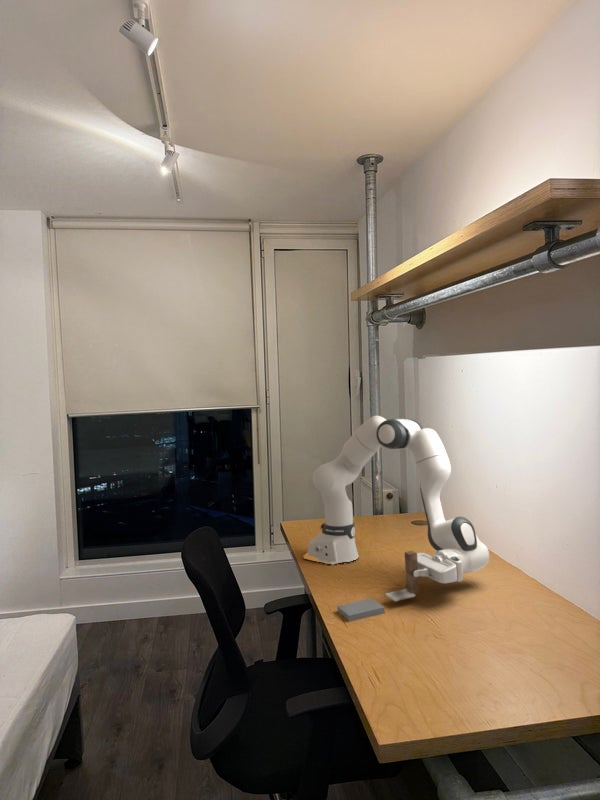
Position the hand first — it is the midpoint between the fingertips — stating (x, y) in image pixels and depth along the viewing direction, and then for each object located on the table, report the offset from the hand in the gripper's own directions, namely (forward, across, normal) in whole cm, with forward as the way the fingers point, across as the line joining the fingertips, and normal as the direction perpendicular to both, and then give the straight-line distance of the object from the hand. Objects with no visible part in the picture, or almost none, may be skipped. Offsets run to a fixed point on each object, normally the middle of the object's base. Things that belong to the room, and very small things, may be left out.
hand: (409, 571), depth 179 cm
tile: (+12, 0, +8) cm, 15 cm away
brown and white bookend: (+3, 0, +7) cm, 7 cm away
